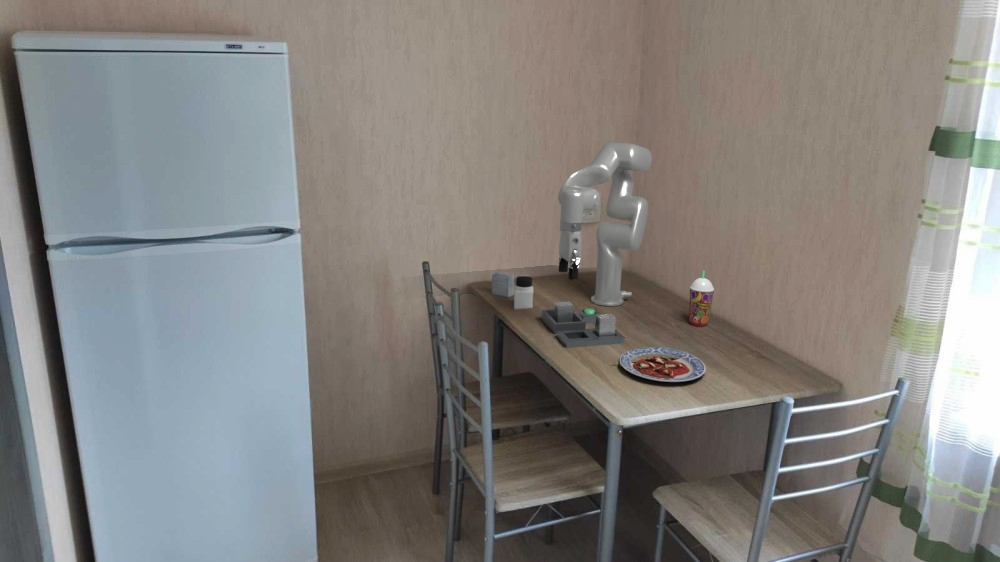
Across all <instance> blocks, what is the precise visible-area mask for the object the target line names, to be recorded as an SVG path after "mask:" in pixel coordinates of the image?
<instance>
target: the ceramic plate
mask: <svg viewBox="0 0 1000 562" xmlns="http://www.w3.org/2000/svg"><path fill="white" fill-rule="evenodd" d="M644 355H664V356H661V357H658V356H647V357H645V358H641V359H638V360H636V361H633V359H635V358H637V357H640V356H644ZM665 355H666V356H665ZM667 356H670V357H667ZM673 357H675V358H673ZM662 358H663V359H662ZM619 364H620V365H621V367H622V368H623V369H624V370H625V371H626V372H629V373H630V374H632V375H635V376H637V377H640V378H644V379H647V380H651V381H657V382H668V383H681V382H688V381H693V380H696V379H698V378H700V377H702V376H703V375H704V374H705V373H706V371H707V370H706V369H707V368H706V365H705V363H704V362H703V360H701V359H700V358H698V357H697V356H696V355H695V356H694V355H693V354H690V353H687V352H685V351H683V350H678V349H672V348H667V347H657V346H654V347H653V346H648V347H638V348H633V349H629V350H627V351H625V352H623V353H622V354H621V355H620V357H619Z"/></svg>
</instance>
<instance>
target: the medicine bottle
mask: <svg viewBox="0 0 1000 562" xmlns="http://www.w3.org/2000/svg"><path fill="white" fill-rule="evenodd" d="M515 279H516V280H515V285H514V295H513V297H514V298H513V309H514V310H521V309H523V310H524V309H533V308H534V297H535V296H534V294H535V293H534V286H533V278H532V276H529V275H518V276H517V277H516V278H515Z"/></svg>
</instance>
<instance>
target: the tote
mask: <svg viewBox="0 0 1000 562" xmlns="http://www.w3.org/2000/svg"><path fill="white" fill-rule="evenodd" d="M541 320H542V321H543V322H544V323H545V325H546V326H547V327H548V329H550V330H551V332H552V333H553V334H554V335H557V331H565V330H579V329H586V326H587V324H586V322H585V321H584V320H583V319H582V318H581V317H580V316H579V315H578V314H577V311H575V310H574V309H573V322H566V323H556V321H555V320H554V308H549V309H542V310H541Z"/></svg>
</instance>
